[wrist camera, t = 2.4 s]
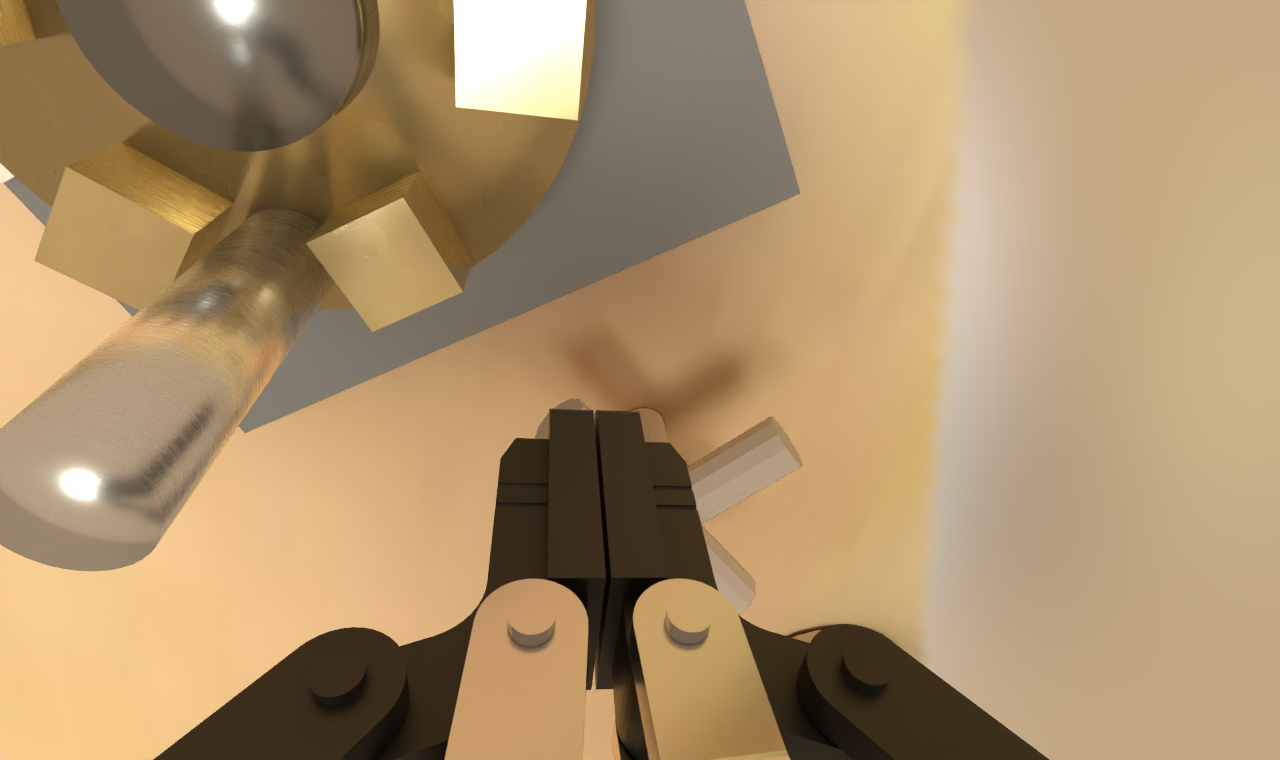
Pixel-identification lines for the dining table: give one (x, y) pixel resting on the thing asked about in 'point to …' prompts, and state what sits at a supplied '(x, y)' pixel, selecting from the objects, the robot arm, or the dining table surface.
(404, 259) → the brass lugged hub
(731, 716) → the robot arm
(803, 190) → the dining table surface
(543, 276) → the base plate
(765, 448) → the pipe connector
